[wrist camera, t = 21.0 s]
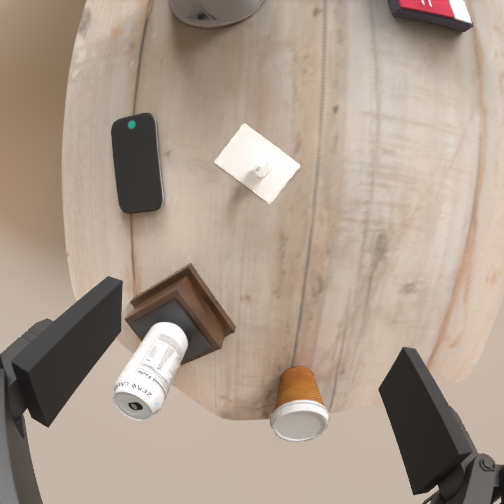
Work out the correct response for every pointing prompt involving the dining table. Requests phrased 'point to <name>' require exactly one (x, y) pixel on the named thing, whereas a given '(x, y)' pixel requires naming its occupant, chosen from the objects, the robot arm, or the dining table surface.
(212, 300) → the stand
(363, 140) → the dining table surface
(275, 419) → the disposable coffee cup
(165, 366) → the energy drink can
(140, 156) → the smartphone
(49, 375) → the robot arm
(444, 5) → the red white flat box
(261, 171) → the adhesive hook
